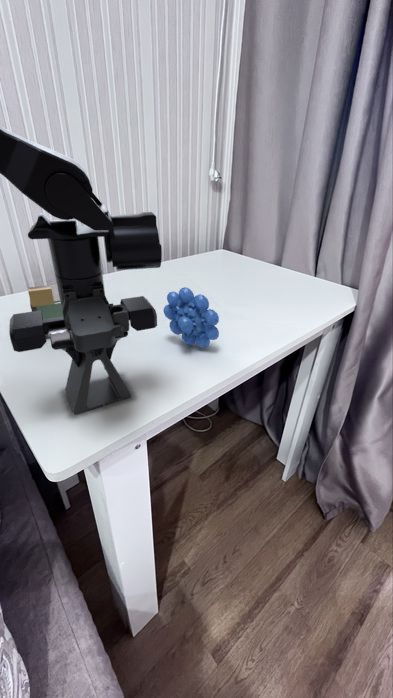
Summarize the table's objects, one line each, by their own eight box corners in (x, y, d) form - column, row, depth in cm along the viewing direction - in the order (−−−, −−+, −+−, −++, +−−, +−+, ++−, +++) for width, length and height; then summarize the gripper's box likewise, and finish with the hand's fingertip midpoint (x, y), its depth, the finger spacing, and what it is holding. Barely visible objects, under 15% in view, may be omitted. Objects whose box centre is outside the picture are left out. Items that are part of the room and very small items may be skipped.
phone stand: (73, 415, 49) (58, 346, 42) (65, 391, 53) (50, 326, 47) (131, 397, 53) (126, 332, 46) (119, 376, 57) (113, 314, 51)
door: (39, 335, 66) (28, 291, 61) (38, 332, 67) (27, 289, 62) (77, 328, 68) (69, 286, 63) (76, 326, 69) (69, 284, 64)
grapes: (154, 348, 65) (152, 291, 59) (169, 332, 70) (169, 279, 64) (209, 363, 62) (213, 304, 55) (221, 345, 67) (226, 290, 60)
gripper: (-9, 309, 32) (29, 423, 41) (170, 285, 39) (170, 387, 48) (-4, 271, 41) (27, 372, 49) (143, 257, 48) (147, 348, 56)
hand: (94, 370), depth 50 cm, fingers closed on phone stand, 3 cm apart
